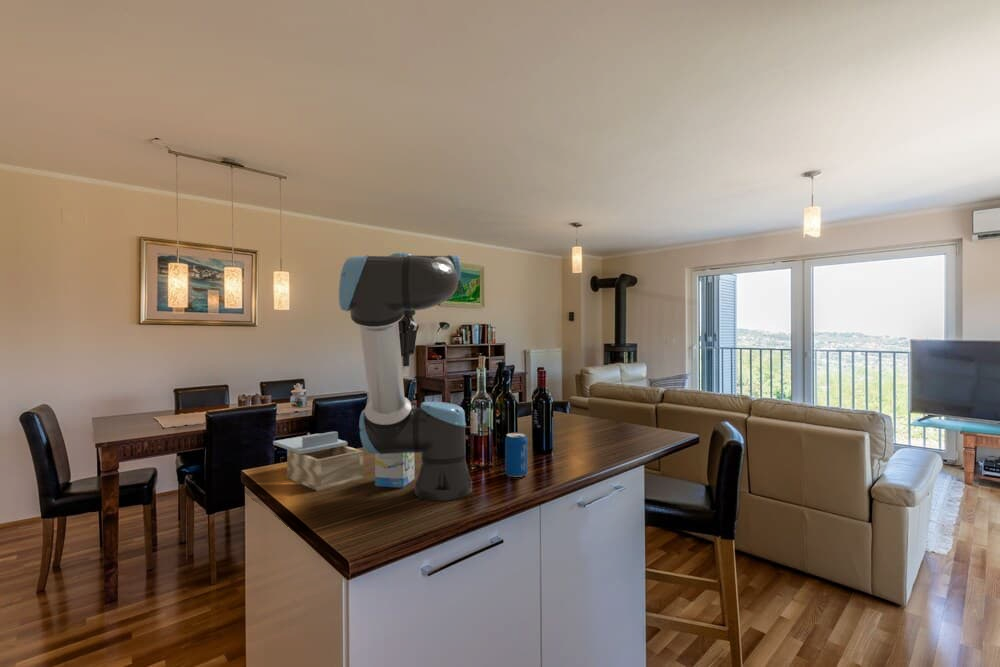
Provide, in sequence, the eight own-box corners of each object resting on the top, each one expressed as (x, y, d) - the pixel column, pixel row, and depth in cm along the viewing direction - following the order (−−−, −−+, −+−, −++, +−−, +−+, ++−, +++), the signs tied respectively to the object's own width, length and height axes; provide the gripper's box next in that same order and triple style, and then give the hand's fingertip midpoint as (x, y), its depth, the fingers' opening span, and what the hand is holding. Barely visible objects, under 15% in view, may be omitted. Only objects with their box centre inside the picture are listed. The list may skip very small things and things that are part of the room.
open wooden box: (363, 478, 132) (363, 450, 132) (316, 490, 122) (316, 461, 122) (332, 467, 144) (332, 441, 144) (287, 477, 134) (287, 450, 134)
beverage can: (515, 480, 130) (515, 438, 130) (500, 475, 135) (500, 434, 135) (531, 475, 134) (531, 434, 134) (516, 470, 139) (516, 431, 139)
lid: (347, 445, 139) (347, 431, 139) (300, 454, 128) (300, 440, 128) (318, 436, 151) (318, 424, 151) (273, 444, 140) (273, 431, 140)
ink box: (403, 488, 124) (403, 445, 124) (374, 486, 125) (374, 444, 125) (415, 478, 132) (415, 438, 132) (388, 477, 134) (387, 437, 134)
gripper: (425, 302, 144) (426, 376, 144) (400, 304, 153) (401, 374, 153) (406, 301, 139) (406, 378, 139) (381, 303, 147) (382, 376, 147)
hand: (403, 376), depth 146 cm, fingers closed
